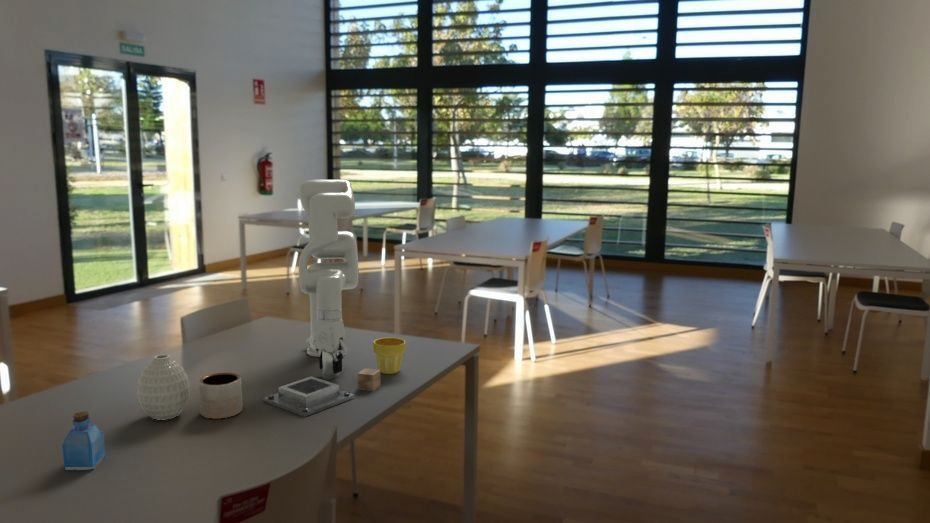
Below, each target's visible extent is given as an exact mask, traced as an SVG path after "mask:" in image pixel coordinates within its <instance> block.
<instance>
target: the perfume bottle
mask: <svg viewBox="0 0 930 523" xmlns="http://www.w3.org/2000/svg"><path fill="white" fill-rule="evenodd" d="M89 415H90V412H88V411H80V412H76V413H73V414H72V417H73V420H72V426H74V427H73V428H72V429H70V430H69V431H68V433H67V435H66V437H65V439H64V441H63V442H62V444H61V445H62V446H61V447H62V456H63V457H62V459H63V468H64V467H94V466H95V465H96V463H97V462H98V461H99V460H100V459H101V458H102V457H104V456H105V457H106V453H105V452H106V449H105V438H104V432H103V431H102V430H101V428H99V427H98V425H97V424H91V417H90V416H89Z"/></svg>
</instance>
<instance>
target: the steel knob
mask: <svg viewBox="0 0 930 523" xmlns="http://www.w3.org/2000/svg"><path fill="white" fill-rule="evenodd" d="M338 350H339V348H338ZM338 355H339V353H338V352H337V356H338ZM333 361H335V360H334V356H333V353H330V352H327V351H325V348H322V362H323V369H322V379H323V380H328V381H329V380H336V379H339V378H340V372H339V373H336V374H335V373H333Z"/></svg>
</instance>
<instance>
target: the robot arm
mask: <svg viewBox="0 0 930 523" xmlns="http://www.w3.org/2000/svg"><path fill="white" fill-rule="evenodd" d="M352 187H353V186H352V183H351V182H350V180H347V179H324V178H323V179H321V178H320V179H319V178H318V179H309V180H305V181H303V182H301V184H300V186H299V197H300V202H301V204H302V206H303V209H304V212H305V214H306V218H307V221H308V241H309V242H308V243H307V244H306V245H305V246H304V248H303V249H302V251H301V253H300V256H299V259H298V283H299V284H298V285H299V288H300V291H301V292H302V293H303V294H307V295H309V312H310V313H309V315H310V336H309V337H308V338H307V339H305V342H306V343H307V344H309V347H308V348H306V354H307V355H308V356H311V357H316V358H318V359H319V360H318V362H319V363H318V364H319V367H318V368H319V369H320V370H323V362H322V348H325V351H327V352H330V353H333V356H334V360H335V361H333V373H335V374H336V373H339V374H340V373H342V371H343V360H344V358H345V357H346V355H347V354H348V353H349V349H348V347H347V346H346V332H345V326H344V320H343V310H342V308H343V306H342V305H343V304H342V291H343V290H353V289H356V288H357V286H358V285H359V264H358V263H359V262H358V260H359V259H358V247H357V240H356V236H355V234H354V233H353V232H351V231H348V230H347V231H346V230H342V231H340V230H339V229H338V219H349V218H352V217H354V215H355V212H356V211H355V210H356V202H355V196H354V191H353V188H352ZM338 230H339V231H338ZM311 257H313V258H314V259H316V260H333V259H334V260H338V259H341V260H343V261H340V262H339V261H337V262H335V261H334V262H332V261H331V262H315V263H312V264H310V265H309V266H308V262H309V259H310V258H311ZM338 348H339V350H338ZM337 352H338V353H339V355H338V356H337Z"/></svg>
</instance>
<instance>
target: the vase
mask: <svg viewBox="0 0 930 523" xmlns="http://www.w3.org/2000/svg"><path fill="white" fill-rule="evenodd" d="M136 390H137V391H136V392H137V399H138V402H139V404H140V407H141V408H142V410H143V411H144V412H145V413H146V415H147V416H149V418H151V419H153V420H154V419H160V420H162V419H170V418H173V417H176V416H177V417H178V416H179V415H180V414H181V413H182V412H183V411H184V409H185V407H186V405H187V404H188V401H189V398H190V395H191V383H190V378H189V376H188V374H187V372H186V370H185V369H184V367H183V366H182V365H181V364H179V363H178V362H177V361H175V359H173V358H172V357H171V355H169V354H166V353H165V354H164V353H163V354H157V355H155V356H153V357H152V360H151V361H150V362H149V363H148V364H147V366H145V367H144V369H143V370H142V372H141V374H140V376H139V378H138V381H137V388H136ZM177 417H176V418H177Z"/></svg>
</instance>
